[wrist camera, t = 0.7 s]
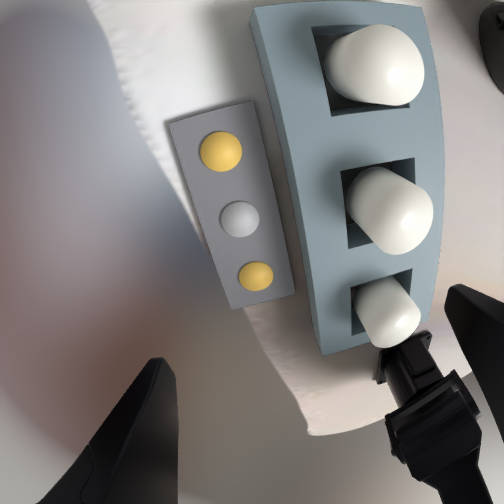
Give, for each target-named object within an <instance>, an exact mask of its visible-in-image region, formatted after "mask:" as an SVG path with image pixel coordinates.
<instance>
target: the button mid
mask: <svg viewBox="0 0 504 504" xmlns="http://www.w3.org/2000/svg"><path fill="white" fill-rule="evenodd" d="M346 203H347V209H348V212H349V214H350V216H351V218H352V219H353V220H354V221H355V222H356V223H357V224H358V225H359V226H360V228H361V229H362V230H363V231H364V232H365V233H366V234H367V235H368V236H369V237H370V239H371V240H372V241H373V242H374V243H375V244H376V245H377V246H378V248H379V249H381V250H382V251H383V252H385V253H387V254H391V255H400V254H404V253H407V252H409V251H411V250H412V249H414V248H415V247H416V246H418V245H419V244H420V243H421V242H422V241H423V239H424V238H425V237H426V235H427V233H428V231H429V229H430V227H431V224H432V220H433V205H432V201H431V199H430V197H429V195H428V194H427V193H426V191H424V190H423V189H422V188H420V187H418V186H417V185H415V184H413V183H412V182H410V181H408V180H406V179H405V178H403V177H401V176H399V175H398V174H396V173H394V172H392V171H390V170H388V169H386V168H383V167H372V168H368V169H366V170H364V171H362V172H361V173H360V174H358V175H357V176H356V177H355V179H354V180H353V181H352V183H351V185H350V187H349V189H348V192H347V199H346Z"/></svg>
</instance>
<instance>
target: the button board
mask: <svg viewBox="0 0 504 504" xmlns="http://www.w3.org/2000/svg"><path fill="white" fill-rule="evenodd" d="M249 23H250V27H251V30H252V34H253V37H254V41H255V45H256V48H257V52H258V56H259V60H260V63H261V67H262V71H263V75H264V79H265V83H266V87H267V91H268V95H269V99H270V103H271V107H272V111H273V116H274V120H275V124H276V129H277V133H278V138H279V142H280V147H281V151H282V156H283V160H284V165H285V170H286V175H287V179H288V184H289V189H290V194H291V199H292V205H293V210H294V215H295V220H296V226H297V231H298V237H299V242H300V248H301V254H302V259H303V265H304V271H305V277H306V284H307V290H308V296H309V303H310V309H311V316H312V323H313V330H314V334H315V337H316V340H317V343H318V345H319V348H320V351H321V354H322V357H323V356H326V355H330V354H333V353H337V352H340V351H343V350H347V349H350V348H353V347H356V346H359V345H362V344H365V343H369V342H371V340H370V338H369V336H368V334H367V332H366V330H365V328H364V326H363V324H362V323H361V321H360V319H359V317H358V315H357V313H356V311H355V309H354V308H351V291H350V287H353V286H356V285H360V284H363V283H366V282H370V281H373V280H376V279H380V278H383V277H386V276H389V275H392V274H393V276H394V277H395V278H396V279H397V281H398V282H399V283H400V285H401V286H402V287H403V288H404V290H405V291H406V292H407V294H408V295H409V296H410V298H411V299H412V300H413V302H414V303H415V304H416V306H417V307H418V308H419V310H420V313H421V318H420V322H419V324H420V323H423V322H425V321H428V318H429V314H430V309H431V304H432V299H433V294H434V288H435V282H436V276H437V269H438V262H439V255H440V246H441V237H442V225H443V211H444V185H445V160H444V135H443V121H442V110H441V101H440V92H439V85H438V78H437V72H436V66H435V61H434V56H433V51H432V46H431V42H430V37H429V33H428V29H427V25H426V21H425V18H424V14H423V11H422V7H416V6H409V5H402V4H393V3H383V2H369V1H310V2H295V3H285V4H276V5H268V6H261V7H254V9H253V12H252V15H251V18H250V21H249ZM375 24H384V25H389V26H392V27H394V28H397V29H398V30H400V31H402V32H403V33H405V34H406V35H407V36H408V37H409V38H410V39H411V40H412V41H413V43H414V44H415V45H416V47H417V48H418V50H419V52H420V54H421V57H422V60H423V64H424V81H423V85H422V88H421V90H420V92H419V93H418V95H417V96H416V97H415V98H414V99H413V100H411V101H410V102H408V103H406V104H403V105H397V106H392V105H385V104H383V105H373V106H363V107H355V108H347V109H340V110H333V111H330V107H329V102H328V97H327V92H326V88H325V83H324V78H323V74H322V70H321V65H320V61H319V57H318V53H317V49H316V45H315V41H314V37H313V35H326V34H346V33H353V32H355V31H358V30H360V29H363V28H365V27H368V26H371V25H375ZM390 161H392V172H394V173H396V174H398V175H399V176H401V177H403V178H405V179H406V180H408V181H410V182H412V183H413V184H415V185H417V186H418V187H420V188H422V189H423V190H424V191H426V193H427V194H428V195H429V197H430V199H431V201H432V205H433V220H432V224H431V227H430V229H429V231H428V233H427V235H426V237H425V238H424V239H423V241H422V242H421V243H420V244H419V245H418V246H416V247H415V248H414V249H412V250H411V251H409V252H407V253H404V254H400V255H391V254H387V253H385V252H383V251H382V250H381V249H379V248H378V246H377V245H376V244H375V243H374V242H373V241H372V240H371V239H370V237H369V236H368V235H367V234H366V233H365V232H364V231H363V230H362V229H361V228H360V226H359V225H358V224H357V223H353V224H349V225H346V218H345V208H344V199H343V191H342V182H341V175H340V171H342V170H347V169H352V168H357V167H362V166H368V165H373V164H378V163H384V162H390Z"/></svg>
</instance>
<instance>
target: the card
mask: <svg viewBox="0 0 504 504" xmlns="http://www.w3.org/2000/svg"><path fill="white" fill-rule="evenodd" d="M168 125H169V128H170V131H171V135H172V138H173V141H174V144H175V148H176V151H177V154H178V157H179V160H180V163H181V167H182V170H183V173H184V176H185V179H186V182H187V185H188V188H189V191H190V194H191V197H192V200H193V203H194V206H195V209H196V212H197V215H198V218H199V221H200V224H201V227H202V230H203V232H204V235H205V238H206V241H207V244H208V247H209V250H210V252H211V255H212V258H213V261H214V264H215V266H216V269H217V272H218V275H219V277H220V280H221V283H222V286H223V288H224V291H225V294H226V296H227V299H228V302H229V304H230V307H231V309H232V310H233V309H237V308H242V307H246V306H250V305H255V304H259V303H263V302H267V301H271V300H275V299H279V298H283V297H287V296H291V295H295V294H296V293H295V288H294V283H293V278H292V273H291V268H290V263H289V258H288V253H287V248H286V243H285V238H284V233H283V228H282V224H281V219H280V214H279V210H278V205H277V201H276V196H275V191H274V187H273V183H272V178H271V174H270V169H269V165H268V161H267V156H266V152H265V148H264V144H263V139H262V135H261V131H260V127H259V123H258V119H257V115H256V111H255V107H254V103H253V101H249V102H245V103H240V104H236V105H232V106H228V107H224V108H221V109H217V110H213V111H210V112H206V113H203V114H199V115H196V116H192V117H189V118H186V119H183V120H180V121H176V122H173V123H170V124H168Z"/></svg>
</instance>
